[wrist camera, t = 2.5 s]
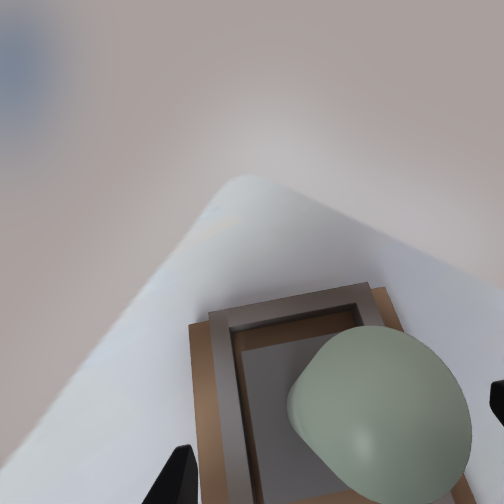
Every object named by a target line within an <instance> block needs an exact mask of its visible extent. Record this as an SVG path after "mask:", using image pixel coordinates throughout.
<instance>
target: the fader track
mask: <svg viewBox="0 0 504 504" xmlns="http://www.w3.org/2000/svg"><path fill="white" fill-rule="evenodd" d="M208 314H209V321H205V322H200V323H195V324H190V325H188V326H189V339H190V353H191V366H192V380H193V393H194V407H195V420H196V433H197V447H198V460H199V474H200V487H201V500H202V504H264V498H263V491H262V485H261V478H260V472H259V465H258V459H257V452H256V446H255V439H254V433H253V426H252V420H251V413H250V407H249V400H248V394H247V387H246V381H245V374H244V368H243V361H242V355H241V352H242V351H247V350H252V349H257V348H262V347H267V346H272V345H277V344H283V343H288V342H293V341H298V340H303V339H308V338H313V337H318V336H323V335H328V334H333V333H338V332H343V331H345V330H348V329H351V328H355V327H360V326H382V327H388V328H392V329H396V330H398V331H401V332H403V333H404V331H403V329H402V326H401V324H400V322H399V319H398V317H397V314H396V312H395V310H394V307H393V305H392V303H391V300H390V298H389V296H388V293H387V291H386V288H385V287H380V288H375V289H370V287H369V284H368V282H364V283H359V284H354V285H349V286H344V287H338V288H333V289H328V290H323V291H318V292H313V293H307V294H302V295H297V296H292V297H287V298H282V299H276V300H271V301H266V302H261V303H256V304H251V305H245V306H240V307H235V308H230V309H225V310H220V311H214V312H209V313H208ZM284 504H381V503H378V502H375V501H372V500H370V499H368V498H366V497H364V496H362V495H360V494H359V493H357V492H356V491H354V490H353V489H350V490H346V491H341V492H336V493H331V494H327V495H322V496H317V497H312V498H308V499H303V500H298V501H293V502H289V503H284ZM428 504H476V501H475V499H474V497H473V494H472V492H471V490H470V487H469V485H468V483H467V480H466V478H465V475H464V473H463V474H462V476H461V477H460V479H459V481H458V482H457V483H456V484H455V485H454V487H453V488H452V489H451V490H450V491H449V492H447V493H446V494H445V495H444V496H442V497H441V498H439V499H437V500H435V501H433V502H431V503H428Z"/></svg>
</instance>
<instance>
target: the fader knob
mask: <svg viewBox="0 0 504 504" xmlns="http://www.w3.org/2000/svg"><path fill="white" fill-rule="evenodd" d="M241 355H242V361H243V368H244V374H245V381H246V387H247V394H248V400H249V407H250V413H251V420H252V426H253V433H254V439H255V446H256V452H257V459H258V465H259V472H260V478H261V485H262V491H263V498H264V504H284V503H289V502H293V501H298V500H303V499H308V498H312V497H317V496H322V495H327V494H331V493H336V492H341V491H346V490H350V489H353V490H354V491H356V492H357V493H359V494H360V495H362V496H364V497H366V498H368V499H370V500H372V501H375V502H378V503H381V504H428V503H431V502H433V501H435V500H437V499H439V498H441V497H442V496H444V495H445V494H446V493H447V492H449V491H450V490H451V489H452V488H453V487H454V485H455V484H456V483H457V482H458V481H459V479H460V477H461V476H462V474H463V472H464V470H465V468H466V465H467V463H468V460H469V455H470V451H471V443H472V426H471V419H470V413H469V410H468V406H467V403H466V400H465V397H464V395H463V392H462V390H461V388H460V386H459V384H458V382H457V380H456V379H455V377H454V376H453V374H452V373H451V371H450V370H449V368H448V367H447V366H446V365H445V363H444V362H443V361H442V360H441V359H440V358H439V357H438V356H437V355H436V354H435V353H434V352H433V351H432V350H431V349H430V348H428V347H427V346H426V345H425V344H423V343H422V342H420V341H419V340H417V339H415V338H414V337H412V336H410V335H408V334H406V333H403V332H401V331H398V330H396V329H392V328H388V327H382V326H360V327H355V328H351V329H348V330H345V331H343V332H338V333H333V334H328V335H323V336H318V337H313V338H308V339H303V340H298V341H293V342H288V343H283V344H277V345H272V346H267V347H262V348H257V349H252V350H247V351H242V352H241Z"/></svg>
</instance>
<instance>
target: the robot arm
mask: <svg viewBox="0 0 504 504" xmlns="http://www.w3.org/2000/svg"><path fill="white" fill-rule="evenodd" d="M489 404H490V407H491V410H492V412H493V413H494V414H495V416H496V417H497V418H498V420H499V421H500V422H501V424H502V425H503V426H504V380H499V381H494V382H493V383H492V384H491V389H490V401H489ZM142 504H198V467H197V463H196V459H195V456H194V453H193V450H192V447H191V445H189V444H187V445H182V446H178V447H176V448H175V449H174V451H173V453H172V454H171V456H170V458H169V459H168V461H167V463H166V464H165V466H164V467H163V469H162V471H161V472H160V474H159V476H158V477H157V479H156V481H155V482H154V484H153V486H152V487H151V489H150V491H149V492H148V494H147V496H146V497H145V499H144V501H143V502H142Z"/></svg>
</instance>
